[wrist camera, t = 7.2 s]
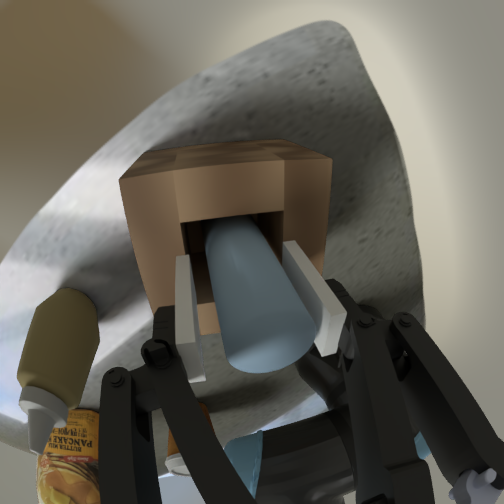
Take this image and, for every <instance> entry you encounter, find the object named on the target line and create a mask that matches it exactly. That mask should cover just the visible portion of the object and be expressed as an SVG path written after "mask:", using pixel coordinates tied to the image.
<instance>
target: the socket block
mask: <svg viewBox="0 0 504 504" xmlns="http://www.w3.org/2000/svg"><path fill="white" fill-rule="evenodd" d="M332 160H333V159H331V158H329V157H327V156H324V155H322V154H320V153H317V152H315V151H312V150H310V149H307V148H305V147H302V146H300V145H297V144H295V143H292V142H290V141H287V140H284V139H274V140H251V141H236V142H223V143H212V144H202V145H194V146H185V147H178V148H171V149H164V150H157V151H151V152H145V153H143V154H142V155H141V156H140V157H139V158H138V159H137V160H136V161H135V162H134V163H133V164H132V165H131V167H130V168H129V169H128V170H127V171H126V172H125V173H124V174H123V175H122V176H121V177H120V179H119V185H120V190H121V196H122V201H123V206H124V210H125V215H126V219H127V224H128V228H129V232H130V237H131V241H132V245H133V249H134V252H135V256H136V260H137V264H138V267H139V271H140V274H141V278H142V281H143V284H144V288H145V291H146V294H147V297H148V300H149V303H150V307H151V310H152V313H153V316H154V314H155V312H156V310H157V309H158V307H162V306H170V305H175V274H176V256H182V255H189V257H190V263H191V269H192V274H193V280H194V285H195V291H196V300H197V310H198V320H199V329H200V335H206V334H213V333H220V332H221V331H220V326H219V321H218V316H217V311H216V306H215V301H214V296H213V290H212V285H211V280H210V274H209V269H208V263H207V257H206V252H205V246H204V240H203V234H202V227H201V221H200V220H204V219H212V218H220V217H228V216H236V215H245V214H251V216H252V218H253V219H254V221H255V223H256V224H257V226H258V228H259V229H260V231H261V233H262V234H263V236H264V238H265V239H266V241H267V243H268V244H269V246H270V248H271V249H272V251H273V253H274V254H275V256H276V258H277V259H278V261H279V263H280V264H281V266H282V251H283V242H286V241H293V240H295V241H296V243H297V244H298V245H299V247H300V248H301V249H302V251H303V252H304V253H305V255H306V256H307V257H308V259H309V260H310V261H311V263H312V264H313V265H314V267H315V268H316V270H317V271H318V272H319V274H320V275H321V276H322V270H323V262H324V253H325V245H326V236H327V226H328V216H329V204H330V192H331V177H332Z"/></svg>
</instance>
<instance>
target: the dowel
mask: <svg viewBox="0 0 504 504" xmlns="http://www.w3.org/2000/svg"><path fill="white" fill-rule="evenodd" d="M200 221H201V227H202V234H203V240H204V246H205V252H206V257H207V263H208V269H209V274H210V280H211V285H212V290H213V296H214V301H215V306H216V311H217V316H218V321H219V326H220V331H221V335H222V340H223V345H224V349H225V354H226V358H227V360H228V361H229V363H230V364H231V365H232V366H233V367H235V368H237V369H239V370H241V371H244V372H249V373H266V372H271V371H275V370H278V369H281V368H284V367H286V366H288V365H290V364H292V363H294V362H295V361H297V360H298V359H299V358H301V357H302V356H303V355H304V354H305V353H306V352H307V351H308V350H309V349H310V347H311V346H312V344H313V342H314V340H315V337H316V325H315V323H314V321H313V319H312V318H311V316H310V314H309V312H308V311H307V309H306V307H305V306H304V304H303V302H302V300H301V299H300V297H299V295H298V293H297V292H296V290H295V288H294V287H293V285H292V283H291V281H290V280H289V278H288V276H287V275H286V273H285V271H284V270H283V268H282V266H281V264H280V263H279V261H278V259H277V258H276V256H275V254H274V253H273V251H272V249H271V248H270V246H269V244H268V243H267V241H266V239H265V238H264V236H263V234H262V233H261V231H260V229H259V228H258V226H257V224H256V223H255V221H254V219H253V218H252V216H251V214H245V215H236V216H228V217H220V218H212V219H204V220H200Z"/></svg>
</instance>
